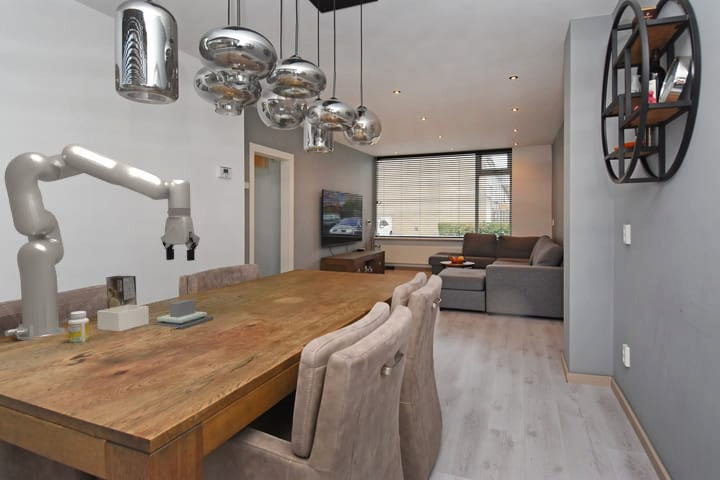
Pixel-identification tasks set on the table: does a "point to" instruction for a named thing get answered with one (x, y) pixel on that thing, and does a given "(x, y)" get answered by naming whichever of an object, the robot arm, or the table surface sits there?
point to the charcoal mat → (185, 325)
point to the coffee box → (121, 291)
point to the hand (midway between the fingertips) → (180, 260)
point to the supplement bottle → (78, 327)
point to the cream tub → (123, 317)
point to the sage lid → (182, 312)
